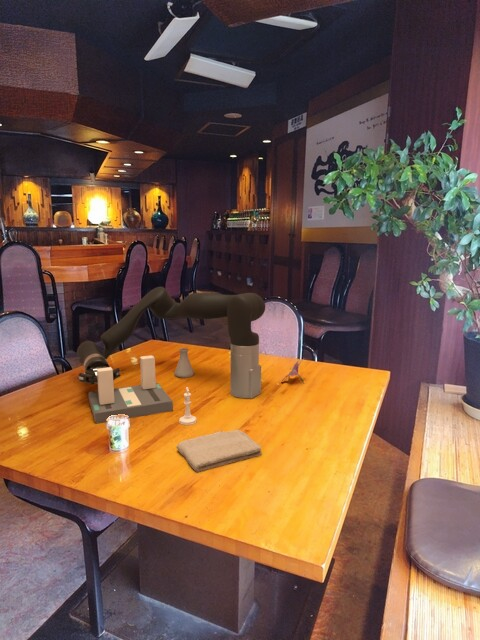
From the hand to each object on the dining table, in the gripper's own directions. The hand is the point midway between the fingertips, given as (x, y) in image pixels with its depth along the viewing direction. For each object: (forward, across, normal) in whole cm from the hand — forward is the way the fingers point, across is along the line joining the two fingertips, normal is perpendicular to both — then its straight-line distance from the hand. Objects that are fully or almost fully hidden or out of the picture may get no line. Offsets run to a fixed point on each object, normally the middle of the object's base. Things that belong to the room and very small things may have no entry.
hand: (103, 383), depth 127 cm
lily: (0, -65, -9) cm, 66 cm away
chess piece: (+17, -20, -9) cm, 28 cm away
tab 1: (+2, 0, -5) cm, 6 cm away
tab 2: (-6, -14, -5) cm, 17 cm away
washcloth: (+37, -22, -10) cm, 44 cm away
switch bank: (-1, -7, -9) cm, 11 cm away
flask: (-23, -31, -9) cm, 40 cm away
